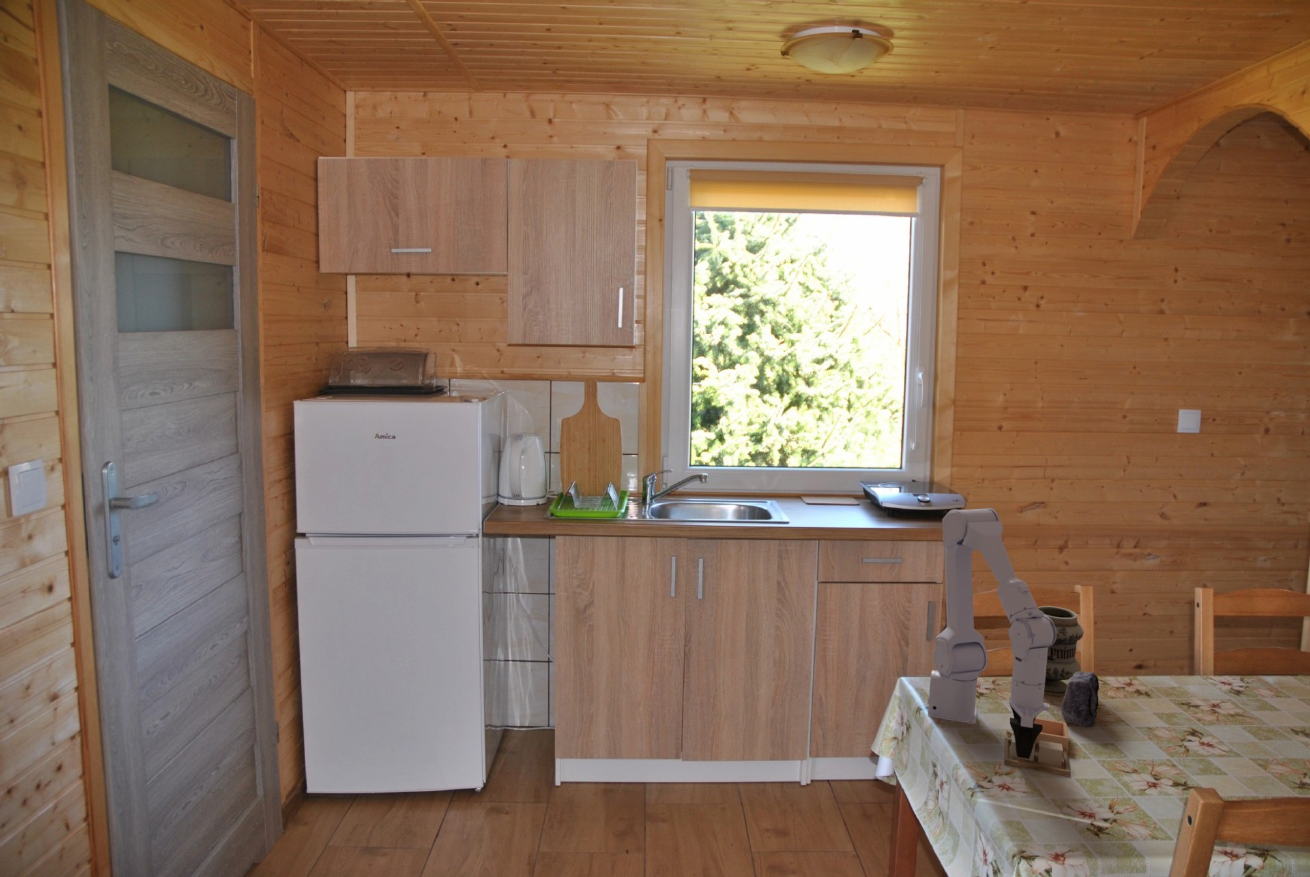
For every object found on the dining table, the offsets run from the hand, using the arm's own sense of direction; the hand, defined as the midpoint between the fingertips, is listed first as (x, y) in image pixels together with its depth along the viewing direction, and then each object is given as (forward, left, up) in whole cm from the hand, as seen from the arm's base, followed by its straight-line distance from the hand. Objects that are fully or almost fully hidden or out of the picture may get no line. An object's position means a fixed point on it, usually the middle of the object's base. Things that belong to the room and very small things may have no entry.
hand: (1022, 748), depth 173 cm
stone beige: (+5, 0, -1) cm, 5 cm away
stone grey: (0, 0, -1) cm, 1 cm away
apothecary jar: (+6, +40, -2) cm, 41 cm away
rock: (+11, +23, -2) cm, 26 cm away
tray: (+2, 0, -2) cm, 3 cm away
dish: (+3, +9, -2) cm, 10 cm away
